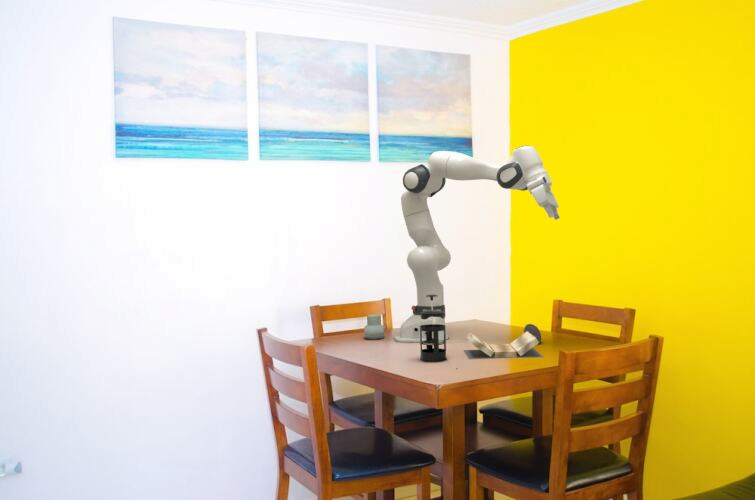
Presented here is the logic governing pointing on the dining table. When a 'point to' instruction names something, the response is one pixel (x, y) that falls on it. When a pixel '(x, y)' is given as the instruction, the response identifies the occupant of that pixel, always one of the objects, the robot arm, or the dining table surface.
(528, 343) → the right plank
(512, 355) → the fixed plank
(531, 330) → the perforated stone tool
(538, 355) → the underlay mat
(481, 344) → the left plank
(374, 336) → the air freshener
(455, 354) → the dining table surface
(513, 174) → the robot arm
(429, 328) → the french press
